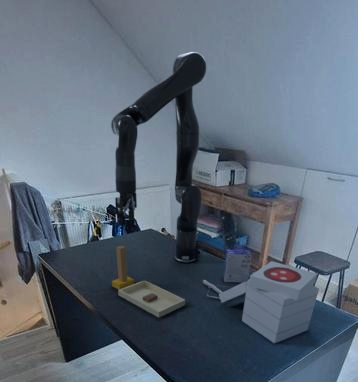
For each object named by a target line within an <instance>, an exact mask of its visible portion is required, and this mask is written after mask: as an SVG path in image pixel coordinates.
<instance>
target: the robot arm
mask: <svg viewBox="0 0 358 382" xmlns="http://www.w3.org/2000/svg"><path fill="white" fill-rule="evenodd" d="M206 73H207V63H206V59H205V57H204V56H203V55H202V54H201V53H199V52H196V51H191V52H186V53H181V54H179V55H177V57H176V58H175V60H174V62H173V66H172V74H171V75H170V76H168V77H167V78H165V80H163V81H161V82H159V83H158V84H155V86H153V87H151V88H150V89H149V90H146V91H145V92H144V93H143V94H142V95H141V96H140V97H139V98H138V99H136V100H135V101H134V102H133V103H132V104H131V105H129V106H127V107H126V108H124V109H122V110H121V111H119V112H118V113H117V114H116V115H115V116H114V117H113V118H112V120H111V122H110V129H111V133H112V134H113V135H114V136H115V137H117V138H118V142H117V143H118V144H117V146H116V147H115V149H114V161H115V162H114V163H115V167H114V176H115V177H114V178H115V180H114V181H115V192H117V193H118V194H119V197H115V199H114V200H115V215H118V222H119V223H118V224H119V226H125V225H126V214H127V211H128V215H127V216H128V221H134V220H135V211H136V209H137V207H138V204H137V203H138V201H137V200H138V199H137V171H136V154H135V153H136V147H137V140H138V126H140V125H143V124H145V123H147V122H149V121H150V120H151V119H152V118H153V117H155V116H156V115H157V114H158V113H159V112H160V111H161V110H162V109H164V107H165V108H166V106H167V105H168V104H170V103H171V102H172V101H174V103H175V108H174V109H175V112H174V113H175V114H174V115H175V179H174V192H173V193H174V198H175V200H176V202H177V203H178V204H180V205H181V208H180V213H178V214H177V215H176V228H175V230H176V231H175V232H176V233H175V261H176V262H178V263H182V264H191V263H195V262H196V261H198V256H199V255H201V251H200V250H199V240H198V225H199V224H198V223H199V221H198V220H199V218H200V216H201V208H202V199H203V198H202V197H203V196H202V190H201V188H200V187H199V186H198V185H196V184H194V183H193V167H194V163H195V161H196V158H197V155H198V152H199V148H200V124H199V121H198V116H197V114H196V110H195V107H194V101H193V92H194V91H193V89H194V87H195V86H196V85H197V84H199V83H201V82H202V81H203V79H204V78H205V76H206Z"/></svg>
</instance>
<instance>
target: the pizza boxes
mask: <svg viewBox="0 0 358 382" xmlns="http://www.w3.org/2000/svg"><path fill="white" fill-rule="evenodd" d="M317 277H318V272H313V271H310V270H306V269H302V268H300V267H299V268H298V267H294V266H291V265H287V264H283V263H280V262H276V261H273V260H271V261H269V262H268V263H267V264H265V265H264V266H262V267H261V268H259V269H258V270H256V271H255V272H253V273H251V274H249V278H248V281H246V282H243V283H239V284H237V285H235V286H233V287H231V288H229V289H227V290H225V291H222V292H223V293H221V294H219V293H218V298H219V300H220V303H221V304H224V303H227V302H230V301H233V300H237V299H239V298H244V304H243V309H242V316H241V322H242V323H244V324H246V325H247V326H249V327H250V328H251V329H253V330H254V331H256V332H257V333H258V334H260V335H262V336H263V337H265V338H266V339H267V340H269V341H270V342H271V343H273V344H276V343H279V342H282V341H284V340H287V339H289V338H291V337H293V336H294V337H295V336H296V335H299V334H302V333H304V332H306V331H309V326H310V322H311V320H312V316H313V311H314V309H315V305H316V301H317V298H318V294H319V291H320V288H319V287H317V286H315V284H316V281H317Z"/></svg>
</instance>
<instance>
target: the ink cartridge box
mask: <svg viewBox="0 0 358 382" xmlns="http://www.w3.org/2000/svg"><path fill="white" fill-rule="evenodd" d="M238 247H240V248H238ZM225 251H226V252H225V259H224V260H225V263H224V271H223V283H239V284H241V283H243V282H246V281H248V280H249V279H250V271H251V263H252V258H253V257H252V256H253V253H252V251H251V250H250V249H245V245H244V244H234V248H233V249H226V250H225Z"/></svg>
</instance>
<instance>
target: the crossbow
mask: <svg viewBox="0 0 358 382" xmlns="http://www.w3.org/2000/svg"><path fill="white" fill-rule="evenodd" d="M202 284H203V285H205V286H207V287H208V289H210V288H211V289H212V290H213V291H215V292H216V293H218V295H219V294H221V293H223V292H224V291H222V290H221V289H220V288H218V287H217V286H219V287H220V285H218V284H216V285H215V284H213V283H210V282H209V281H208V280H206V279H202ZM222 287H224V288H226V286H225V285H222ZM228 288H229V289H231V288H232V287H230V286H228ZM209 291H210V290H208V292H207V295H206V297H208V298H213V299H219V296H218V297H217V296H213V295H209Z"/></svg>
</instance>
